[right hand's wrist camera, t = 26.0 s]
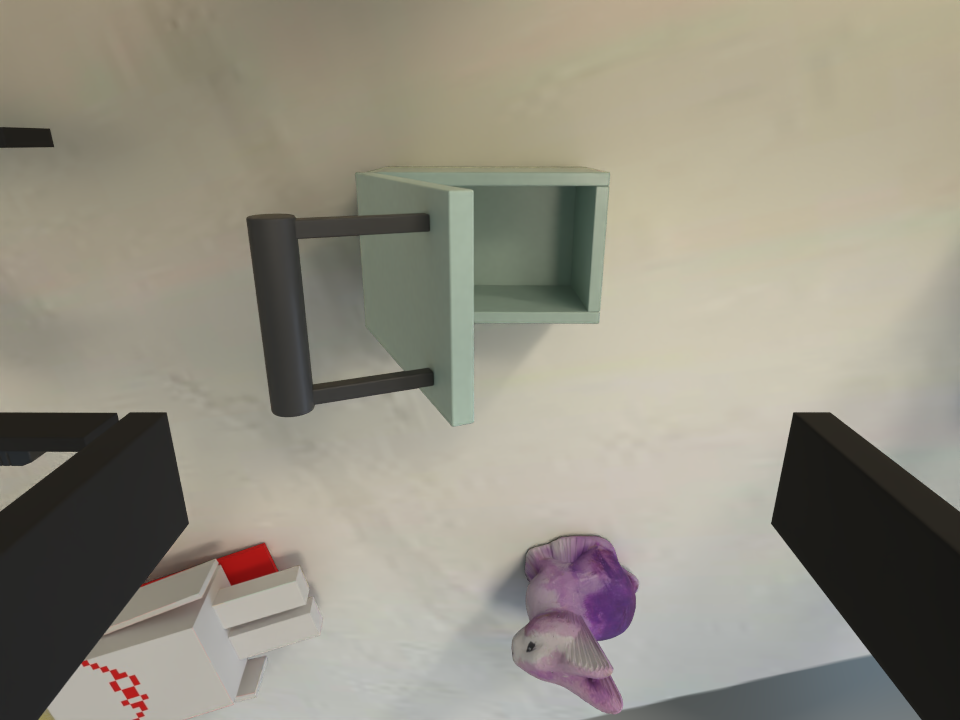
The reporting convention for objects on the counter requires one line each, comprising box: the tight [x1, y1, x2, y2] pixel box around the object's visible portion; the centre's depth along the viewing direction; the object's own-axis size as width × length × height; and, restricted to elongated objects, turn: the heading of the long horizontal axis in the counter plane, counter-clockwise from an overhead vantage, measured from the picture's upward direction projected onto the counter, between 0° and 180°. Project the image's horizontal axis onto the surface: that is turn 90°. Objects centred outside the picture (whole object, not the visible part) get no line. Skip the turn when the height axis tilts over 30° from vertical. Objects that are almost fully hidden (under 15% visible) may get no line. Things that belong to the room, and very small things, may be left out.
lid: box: [246, 172, 474, 427], centre depth 29 cm, size 16×10×8 cm
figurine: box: [512, 536, 639, 715], centre depth 50 cm, size 9×10×15 cm
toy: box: [38, 543, 323, 720], centre depth 54 cm, size 12×13×30 cm
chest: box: [368, 167, 610, 324], centre depth 42 cm, size 15×10×9 cm, turn 90°
